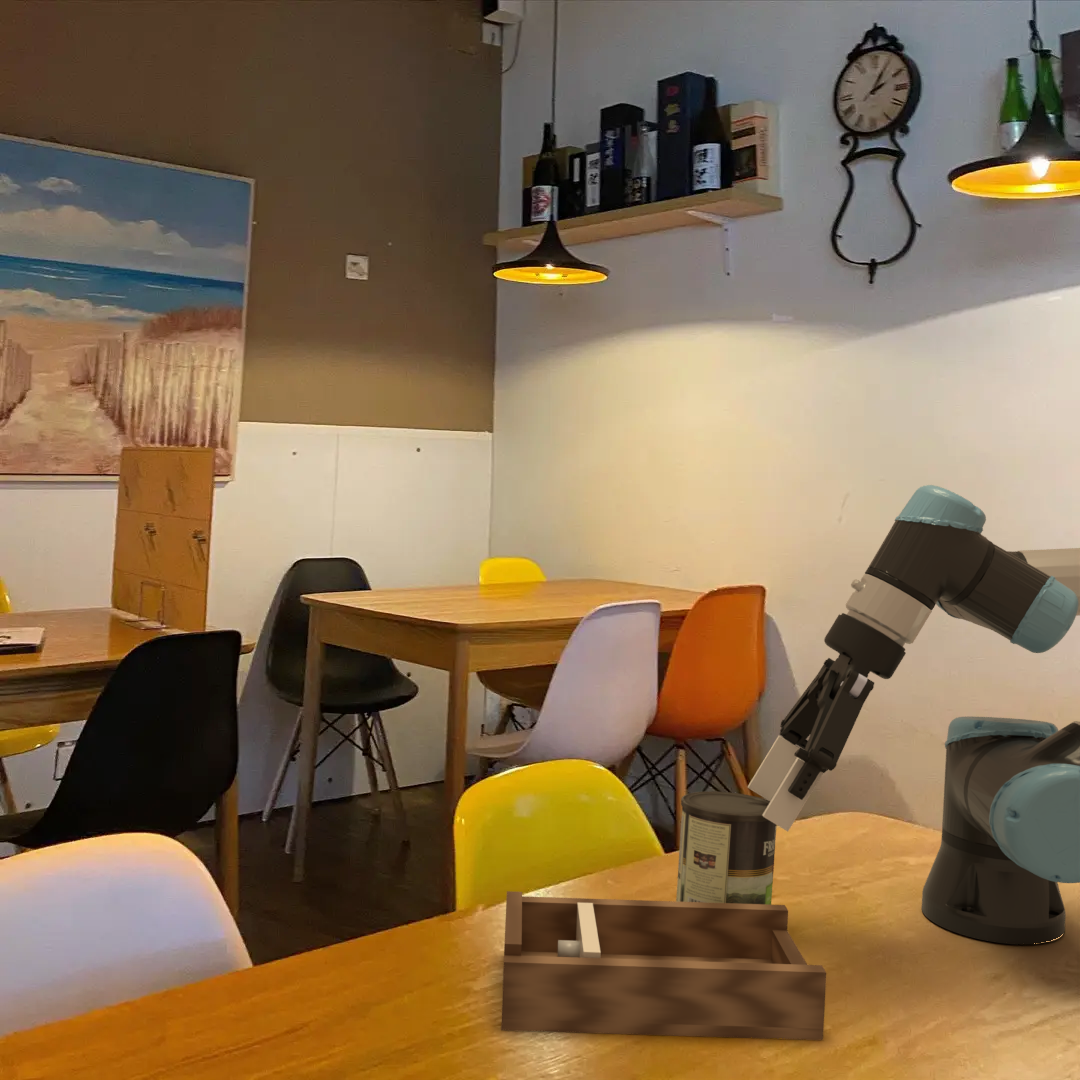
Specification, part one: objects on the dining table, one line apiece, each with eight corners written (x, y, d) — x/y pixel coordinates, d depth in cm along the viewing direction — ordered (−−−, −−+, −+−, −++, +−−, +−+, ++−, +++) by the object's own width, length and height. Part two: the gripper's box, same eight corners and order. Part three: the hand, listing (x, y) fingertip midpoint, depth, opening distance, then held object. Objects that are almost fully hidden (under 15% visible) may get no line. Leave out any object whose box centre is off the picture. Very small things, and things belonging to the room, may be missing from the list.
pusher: (590, 952, 113) (592, 903, 113) (598, 1008, 101) (600, 952, 101) (555, 951, 113) (557, 901, 113) (558, 1006, 101) (560, 951, 101)
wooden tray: (781, 963, 116) (785, 895, 115) (823, 1040, 100) (826, 961, 99) (504, 954, 115) (507, 886, 115) (501, 1030, 99) (504, 950, 99)
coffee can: (770, 923, 127) (778, 796, 126) (769, 957, 117) (779, 819, 116) (676, 911, 129) (685, 786, 129) (668, 943, 119) (677, 807, 118)
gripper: (821, 604, 129) (724, 766, 129) (868, 615, 104) (747, 815, 104) (880, 639, 128) (782, 801, 129) (941, 658, 103) (819, 859, 104)
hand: (766, 808), depth 116 cm, fingers open, 13 cm apart
